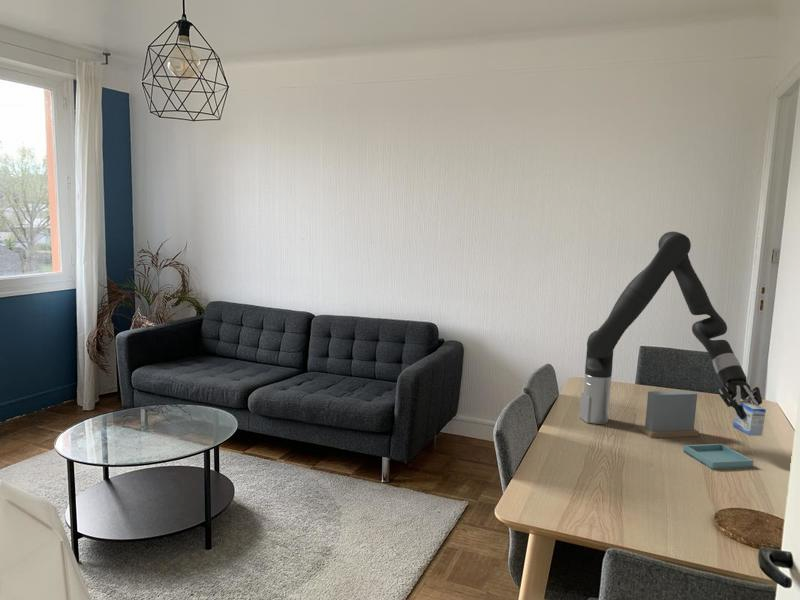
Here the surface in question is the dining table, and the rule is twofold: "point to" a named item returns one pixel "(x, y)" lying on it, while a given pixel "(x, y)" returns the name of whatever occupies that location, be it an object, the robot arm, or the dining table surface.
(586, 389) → the robot arm
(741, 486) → the dining table surface
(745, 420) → the medicine box
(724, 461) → the teal tray
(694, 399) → the slate unit
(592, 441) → the dining table surface
